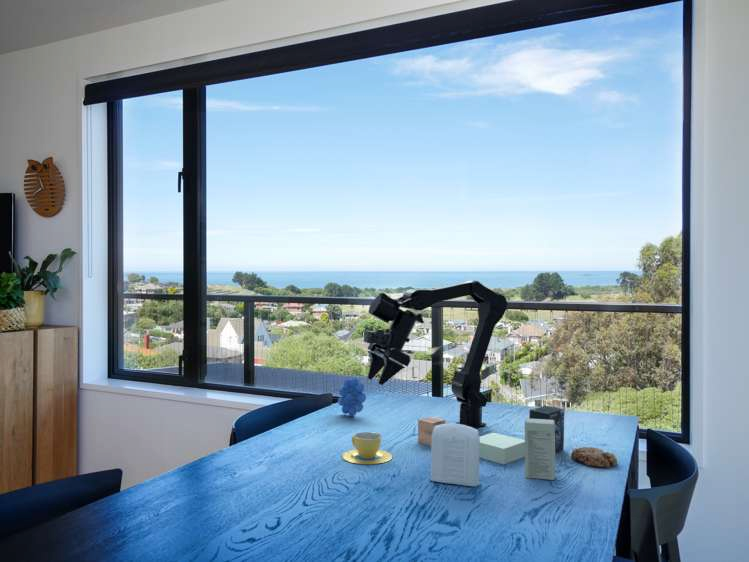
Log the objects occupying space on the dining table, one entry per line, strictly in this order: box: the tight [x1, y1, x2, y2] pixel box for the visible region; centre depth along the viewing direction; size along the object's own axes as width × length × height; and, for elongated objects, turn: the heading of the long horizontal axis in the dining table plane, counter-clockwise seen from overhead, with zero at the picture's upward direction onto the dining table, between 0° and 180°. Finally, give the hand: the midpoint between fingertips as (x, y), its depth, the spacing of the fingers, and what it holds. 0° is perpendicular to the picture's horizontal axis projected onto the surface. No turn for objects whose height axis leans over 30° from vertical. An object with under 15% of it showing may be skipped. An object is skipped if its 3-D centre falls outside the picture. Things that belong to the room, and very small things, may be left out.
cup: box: [341, 431, 393, 465], centre depth 144 cm, size 12×12×5 cm
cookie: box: [570, 446, 618, 469], centre depth 143 cm, size 10×11×3 cm
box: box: [528, 405, 566, 454], centre depth 151 cm, size 8×6×11 cm
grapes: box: [337, 377, 367, 417], centre depth 185 cm, size 12×7×12 cm, turn 45°
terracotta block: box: [417, 416, 446, 447], centre depth 157 cm, size 5×5×6 cm
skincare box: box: [524, 417, 556, 481], centre depth 132 cm, size 6×4×12 cm
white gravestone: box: [430, 422, 480, 488], centre depth 127 cm, size 10×4×12 cm, turn 72°
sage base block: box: [479, 432, 525, 465], centre depth 147 cm, size 10×10×4 cm
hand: (374, 381), depth 164 cm, fingers open, 9 cm apart
